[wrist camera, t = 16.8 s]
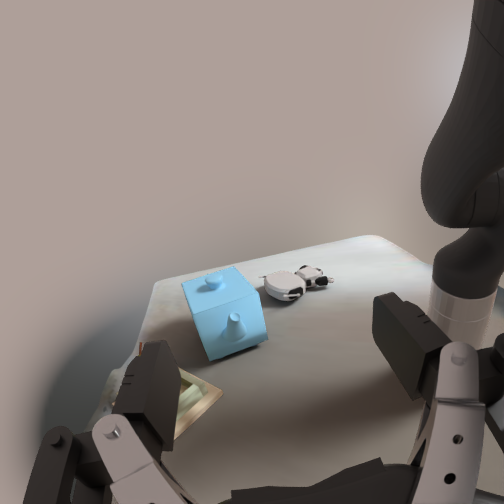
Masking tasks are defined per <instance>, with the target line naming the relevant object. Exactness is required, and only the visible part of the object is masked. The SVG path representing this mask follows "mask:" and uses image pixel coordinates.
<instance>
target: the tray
mask: <svg viewBox="0 0 504 504" xmlns="http://www.w3.org/2000/svg"><path fill="white" fill-rule="evenodd" d="M178 368H179V367H178ZM179 371H180V374H181V389H180V396H179V403H178V410H177V418H176V426H175V434H174V440H175V439H176V438H177V437H178V436H179V435H180V434H182V433H183V432H184V431H185V430H186V429H187V428H188V427H189V426H190V425H191V424H192V423H194V422H195V421H196V420H197V419H198V418H199V417H200V416H201V415H202V414H203V413H204V412H205V411H206V410H207V409H208V408H209V407H210V406H211V405H213V404H214V403H215V402H216V401H217V400H218V399H219V398H220V397H221V396H222V395H223V392H222V390H221V389H219V388H217V387H215V386H213V385H211V384H209V383H207V382H205V381H203V380H201V379H199V378H198V377H196V376H194V375H192V374H190V373H188V372H186V371H185V370H183V369H181V368H179ZM116 394H117V395H118V392H117V393H116ZM112 404H113V406H114V404H115V402H113V403H112Z"/></svg>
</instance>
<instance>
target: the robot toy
mask: <svg viewBox="0 0 504 504" xmlns="http://www.w3.org/2000/svg"><path fill="white" fill-rule="evenodd" d="M322 275H323V272H322V270H320V269H318V268H313V267H311V266H308V265H304V266H302V267H301V268H300V269H299V270H298V271H297V272H295V273H292V272H288V271H279V272H276V273H272V274H269V275H267V276H259V278H261V277H265V279H264V285H265V290H266V291H267V293H268V294H269V295H271V296H273V297H275V298H276V299H279V300H282V301H292V300H294V299H295V298H298V297H301V296H303V294H304V293H305V288H309V287H315V286H317V285H319V286H323V285H328V283H333V282H334V279H333V278H332V277H329V278H327V277H326V276H324V277H322Z"/></svg>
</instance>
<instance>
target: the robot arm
mask: <svg viewBox="0 0 504 504" xmlns="http://www.w3.org/2000/svg"><path fill="white" fill-rule="evenodd" d="M421 194H422V200H423V203H424V206H425V208H426V211H427V213H428V214H429V216H430V217H431V218H432V219H433V221H435V222H436V223H437V224H439V225H441V226H444V227H448V228H469V230H468V231H467V232H466V233H465V234H464V235H463V236H462V237H460V238H459V239H457V240H456V241H454V242H452V243H450V244H449V245H447V246H445V247H443V248H442V249H440V250H439V251H438V253H437V254H436V256H435V259H434V264H433V274H432V283H431V292H430V300H429V307H428V313H427V315H425V313H424V312H423V311H422V310H421V309H420V308H419V307H418V306H417V305H415V304H413V303H411V302H409V301H404V302H403V301H402V300H401V299H400V298H399V297H398V296H397V295H396V294H395V293H394V292H390V293H387V294H384V295H380V296H377V297H375V298H374V301H373V322H372V333H373V338H374V341H375V343H376V345H377V346H378V348H379V349H380V351H381V352H382V354H383V355H384V357H385V358H386V360H387V361H388V363H389V364H390V366H391V368H392V369H393V371H394V372H395V374H396V375H397V377H398V378H399V380H400V382H401V383H402V385H403V386H404V388H405V390H406V391H407V393H408V394H409V396H410V398H411V399H412V400H415V399H417V398H419V397H421V396H423V398H424V399H425V403H424V406H423V410H422V415H421V419H420V424H419V428H418V432H417V436H416V439H415V443H414V446H413V449H412V452H411V454H410V457H409V459H408V462H407V464H384V465H383V463H382V461H381V458H380V457H379V458H376V459H374V460H371V461H368V462H365V463H362V464H359V465H356V466H353V467H350V468H347V469H344V470H342V471H341V472H339V473H337V474H335V475H333V476H331V477H329V478H327V479H325V480H323V481H321V482H319V483H317V484H315V485H312V486H309V487H276V486H266V487H258V488H250V489H241V490H231V496H232V498H231V499H228V500H225V501H223V502H220V503H218V504H504V496H500V495H496V494H493V493H489V492H486V491H483V490H479V489H476V485H477V480H478V474H479V468H480V462H481V455H482V446H483V437H484V424H485V422H486V424H487V425H488V427H489V429H490V430H491V432H492V434H493V436H494V437H495V439H496V441H497V442H498V444H499V446H500V448H501V449H502V451H503V453H504V333H502V334H500V335H499V336H498V337H497V338H496V340H495V343H494V345H493V347H489V348H484V349H480V348H481V345H482V342H483V339H484V336H485V333H486V330H487V327H488V323H489V320H490V316H491V313H492V309H493V305H494V301H495V297H496V293H497V288H498V284H499V279H500V277H501V275H502V273H503V272H504V0H474V6H473V13H472V21H471V29H470V37H469V42H468V48H467V53H466V57H465V61H464V65H463V68H462V72H461V75H460V78H459V82H458V85H457V88H456V91H455V93H454V96H453V99H452V102H451V104H450V106H449V108H448V110H447V112H446V114H445V116H444V118H443V120H442V122H441V124H440V126H439V128H438V130H437V132H436V134H435V135H434V137H433V139H432V141H431V143H430V145H429V147H428V150H427V152H426V155H425V158H424V162H423V166H422V173H421ZM124 376H125V377H124V378H123V381H122V386H120V389H119V392H118V395H117V398H116V401H115V404H114V407H113V410H112V413H111V415H107V416H105V417H103V418H101V419H100V420H99V421H98V422H97V423H96V424H95V426H94V428H93V431H90V432H86V433H81V434H76V435H74V434H73V433H72V432H71V431H70V430H69V429H68V428H67V427H64V426H58V427H54V428H52V429H51V430H49V431H48V432H47V433H46V434H45V436H44V438H43V440H42V443H41V446H40V449H39V451H38V454H37V457H36V460H35V463H34V467H33V469H32V473H31V476H30V479H29V483H28V486H27V490H26V494H25V497H24V501H23V504H71V502H70V493H71V488H72V484H73V480H74V478H76V479H77V481H76V486H75V490H74V496H73V501H72V504H111V502H112V494H113V495H114V496H115V498H116V500H117V502H118V504H198V503H197V502H196V501H195V500H194V499H193V498H192V497H191V496H190V495H189V493H188V492H187V491H186V490H185V489H184V488H183V486H182V485H181V484H180V483H179V482H178V480H177V479H176V478H175V477H174V475H173V474H172V473H171V472H170V470H169V469H168V468H167V467H166V465H165V464H164V463H163V461H162V460H161V453H162V451H173V442H174V434H175V426H176V418H177V410H178V403H179V396H180V389H181V374H180V371H179V368H178V366H177V364H176V361H175V359H174V357H173V355H172V353H171V350H170V348H169V346H168V344H167V342H166V341H165V340H161V341H153V342H146V343H145V345H144V347H143V350H142V353H141V356H136V357H135V358H134V359H133V360H132V361H131V363H130V364H129V365H128V367H127V370H126V372H125V375H124Z"/></svg>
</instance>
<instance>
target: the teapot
mask: <svg viewBox="0 0 504 504" xmlns="http://www.w3.org/2000/svg"><path fill="white" fill-rule="evenodd" d="M182 287H183V290H184V293H185V296H186V299H187V302H188V305H189V308H190V311H191V314H192V317H193V320H194V323H195V326H196V328H197V331H198V333H199V336H200V339H201V341H202V344H203V346H204V349H205V351H206V354H207V356H208V358H209V361H212V360H215V359H221V358H223V357H224V356H226V355H229V354H232V353H235V352H237V351H240V350H243V349H245V348H248V347H252V346H256V345H257V344H258V343H261V342H263V341H266V340H268V337H267V332H266V327H265V322H264V317H263V312H262V307H261V302H260V297H259V293H258V292H257V291H256V290H255V288H254V287H253V286H252V285H251V284H250V283H249V282H248V281H247V280H246V279H245V277H244V276H243V275H242V274H241V273H240V272H239V271H238V270H237V269H236V268H235V267H234V266H233V267H230V268H227V269H224V270H221V271H217V272H214V273H211V274H207V275H205V276H202V277H199V278H196V279H193V280H190V281H187V282H183V283H182Z"/></svg>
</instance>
